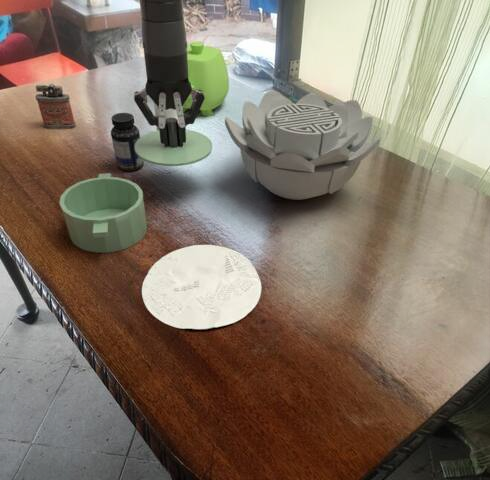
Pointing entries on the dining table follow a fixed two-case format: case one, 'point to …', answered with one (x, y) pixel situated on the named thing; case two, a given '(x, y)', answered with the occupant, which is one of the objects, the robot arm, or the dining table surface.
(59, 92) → the lighter
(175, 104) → the robot arm
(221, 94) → the teapot
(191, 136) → the lid
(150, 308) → the plaque
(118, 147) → the pill bottle
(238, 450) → the dining table surface
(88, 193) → the pot
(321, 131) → the decorative bowl
